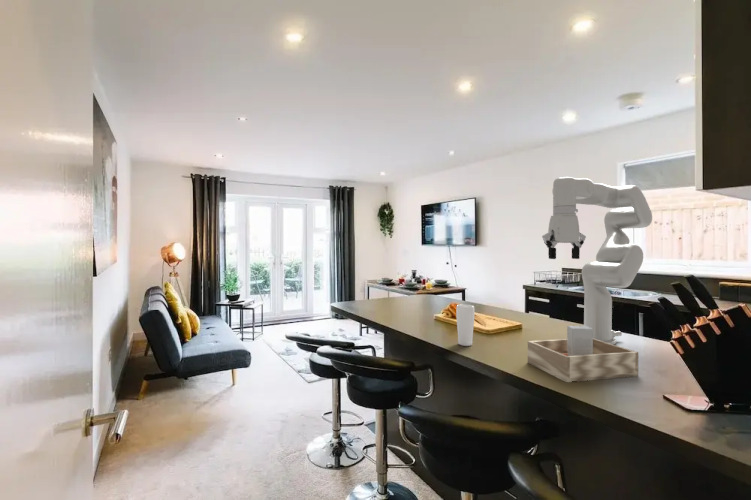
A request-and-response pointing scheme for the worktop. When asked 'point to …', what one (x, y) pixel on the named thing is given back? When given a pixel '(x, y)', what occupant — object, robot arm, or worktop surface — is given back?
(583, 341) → the skincare box
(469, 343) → the drinking glass
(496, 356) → the worktop surface
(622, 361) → the box
